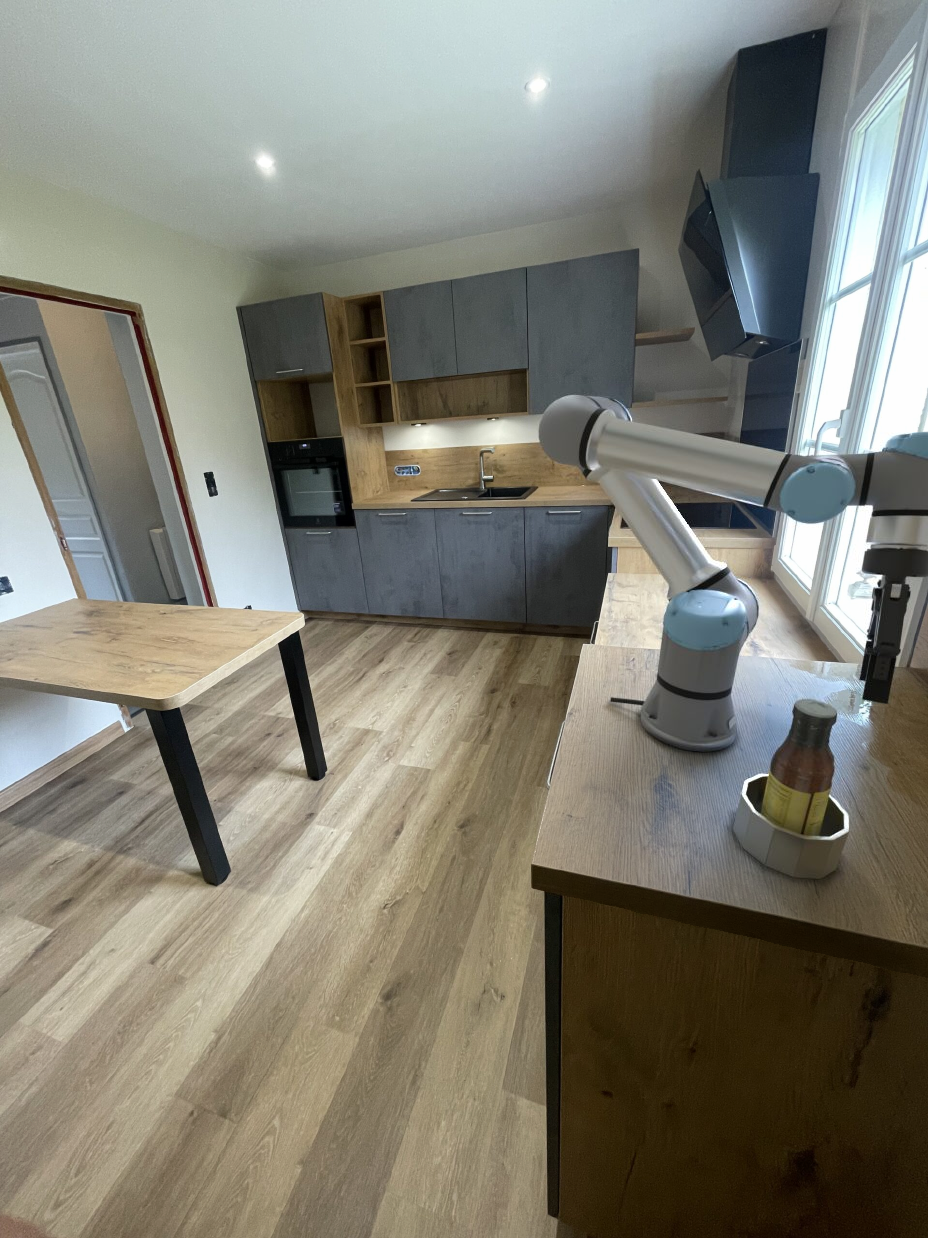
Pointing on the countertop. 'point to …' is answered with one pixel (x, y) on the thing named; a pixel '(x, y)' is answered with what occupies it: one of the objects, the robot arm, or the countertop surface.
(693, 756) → the countertop surface
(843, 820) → the tin
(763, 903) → the countertop surface
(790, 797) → the sauce bottle
